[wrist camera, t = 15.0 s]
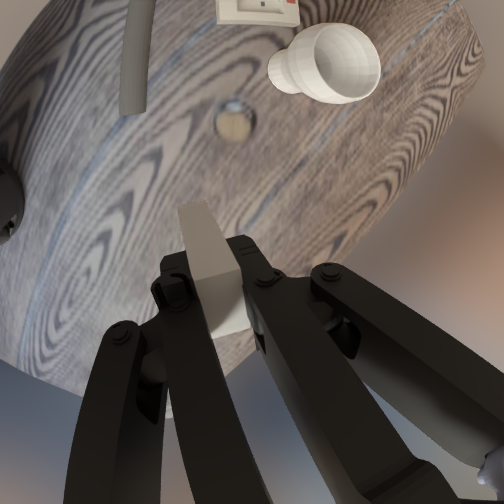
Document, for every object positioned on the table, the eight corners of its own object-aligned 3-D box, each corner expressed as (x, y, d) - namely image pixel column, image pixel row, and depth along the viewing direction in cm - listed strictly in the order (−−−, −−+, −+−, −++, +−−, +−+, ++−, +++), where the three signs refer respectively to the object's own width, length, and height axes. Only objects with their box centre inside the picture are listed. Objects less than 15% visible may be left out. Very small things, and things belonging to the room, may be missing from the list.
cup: (262, 34, 30) (312, 5, 18) (323, 51, 34) (387, 39, 21) (253, 96, 35) (300, 91, 23) (316, 108, 39) (378, 115, 26)
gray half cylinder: (118, 116, 31) (116, 116, 30) (129, -1, 22) (128, -5, 20) (147, 113, 33) (146, 113, 31) (157, -4, 23) (157, -8, 22)
